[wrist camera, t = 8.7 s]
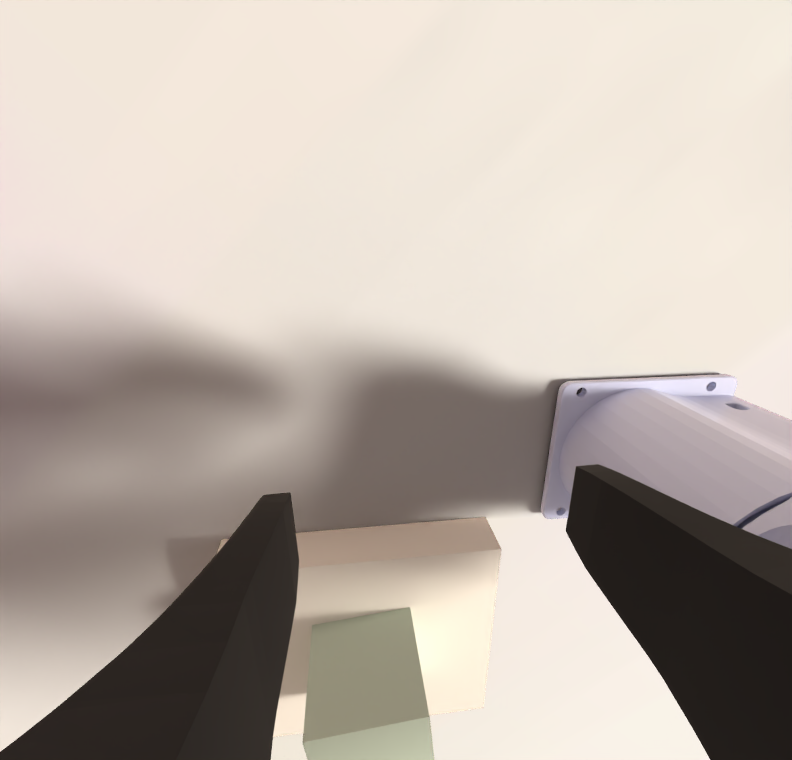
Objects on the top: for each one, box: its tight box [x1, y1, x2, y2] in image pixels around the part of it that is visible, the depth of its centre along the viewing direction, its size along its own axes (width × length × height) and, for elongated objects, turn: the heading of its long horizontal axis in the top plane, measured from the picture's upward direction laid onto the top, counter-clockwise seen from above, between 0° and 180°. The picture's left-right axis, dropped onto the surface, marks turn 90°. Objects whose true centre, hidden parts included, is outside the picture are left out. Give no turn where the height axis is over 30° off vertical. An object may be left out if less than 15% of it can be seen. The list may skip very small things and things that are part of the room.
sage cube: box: [303, 607, 434, 760], centre depth 19 cm, size 5×5×5 cm
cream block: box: [216, 517, 501, 737], centre depth 23 cm, size 14×12×3 cm
